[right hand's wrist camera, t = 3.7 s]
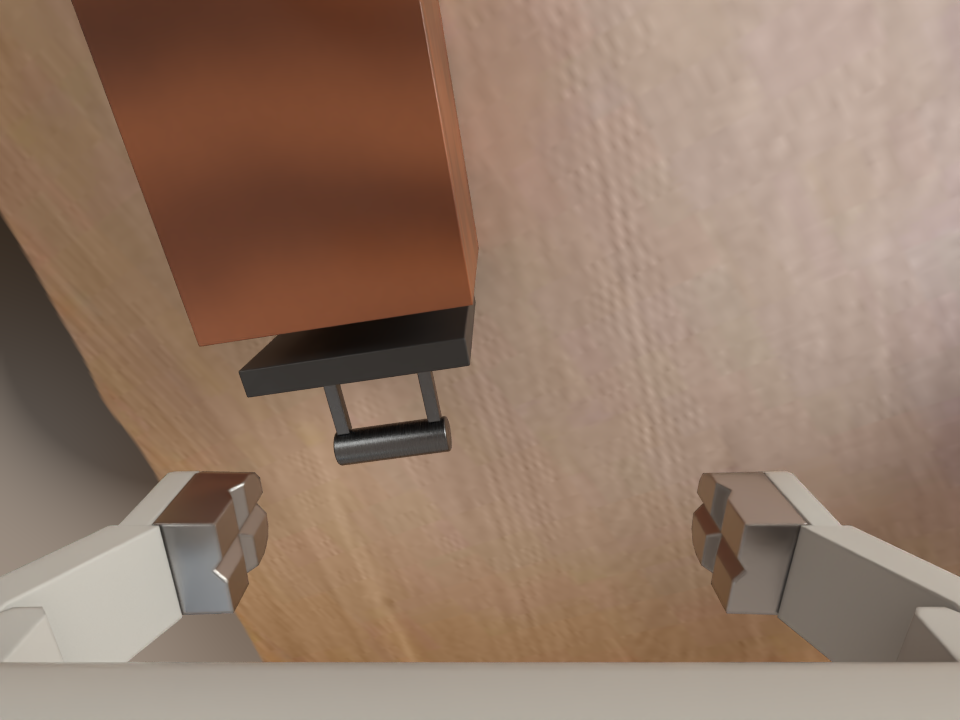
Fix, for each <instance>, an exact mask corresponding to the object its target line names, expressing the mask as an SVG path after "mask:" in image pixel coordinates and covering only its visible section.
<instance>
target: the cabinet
mask: <svg viewBox="0 0 960 720" xmlns="http://www.w3.org/2000/svg"><path fill="white" fill-rule="evenodd" d="M71 1H72V4H73V6H74V9H75V12H76V14H77V17H78V20H79V22H80V25H81V28H82V31H83V33H84V36H85V39H86V41H87V44H88V47H89V50H90V52H91V55H92V58H93V60H94V63H95V66H96V68H97V71H98V74H99V77H100V79H101V82H102V85H103V87H104V90H105V93H106V96H107V98H108V101H109V104H110V106H111V109H112V112H113V114H114V117H115V120H116V123H117V125H118V128H119V131H120V133H121V136H122V139H123V142H124V144H125V147H126V150H127V152H128V155H129V158H130V160H131V163H132V166H133V169H134V171H135V174H136V177H137V179H138V182H139V185H140V188H141V190H142V193H143V196H144V198H145V201H146V204H147V207H148V209H149V212H150V215H151V217H152V220H153V223H154V225H155V228H156V231H157V234H158V236H159V239H160V242H161V244H162V247H163V250H164V253H165V255H166V258H167V261H168V263H169V266H170V269H171V271H172V274H173V277H174V280H175V282H176V285H177V288H178V290H179V293H180V296H181V299H182V301H183V304H184V307H185V309H186V312H187V315H188V317H189V320H190V323H191V326H192V328H193V331H194V334H195V336H196V339H197V342H198V345H199V346H207V345H214V344H220V343H227V342H233V341H240V340H246V339H253V338H260V337H266V336H273V335H279V334H286V333H292V332H299V331H306V330H312V329H319V328H325V327H332V326H338V325H345V324H352V323H358V322H365V321H371V320H378V319H384V318H391V317H398V316H404V315H411V314H417V313H424V312H430V311H437V310H444V309H450V308H457V307H463V306H470V305H473V299H474V297H473V296H474V286H475V277H476V268H477V258H478V249H479V247H478V241H477V235H476V229H475V223H474V217H473V210H472V204H471V198H470V192H469V186H468V180H467V174H466V167H465V161H464V155H463V149H462V143H461V137H460V130H459V124H458V118H457V112H456V106H455V100H454V94H453V87H452V81H451V75H450V69H449V63H448V57H447V51H446V44H445V38H444V32H443V26H442V20H441V14H440V7H439V1H438V0H71Z"/></svg>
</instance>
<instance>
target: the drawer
mask: <svg viewBox="0 0 960 720" xmlns="http://www.w3.org/2000/svg"><path fill="white" fill-rule="evenodd" d="M473 297H474V296H473ZM474 313H475V297H474V299H473V305H470V306H463V307H457V308H450V309H444V310H437V311H430V312H424V313H417V314H411V315H404V316H398V317H391V318H384V319H378V320H371V321H365V322H358V323H352V324H345V325H338V326H332V327H325V328H319V329H312V330H306V331H299V332H292V333H286V334H279V335H277V336H276V337H275V338H274V339H273V340H272V341H271V342H270V343H269V344H268V345H267V346H266V347H264V348H263V349H262V350H261V351H260V352H259V353H258V354H257V355H256V356H255V357H254V358H253V359H252V360H250V361H249V362H248V363H247V364H246V365H245V366H244V367H243V368H242V369H241V370H240V371H239V375H240V378H241V380H242V383H243V386H244V389H245V392H246V395H247V397H255V396H262V395H269V394H276V393H283V392H290V391H297V390H304V389H311V388H318V387H324V390H325V394H326V397H327V401H328V404H329V407H330V411H331V414H332V418H333V421H334V425H335V428H336V434H335V436H334V453H335V457H336V460H337V462H338V463H339V464H340V465H350V464H357V463H365V462H372V461H380V460H387V459H395V458H403V457H410V456H418V455H425V454H433V453H440V452H448V451H450V450H451V446H452V441H451V431H450V425H449V421H448V419H447V417H446V416H442V417H441V411H440V406H439V401H438V396H437V392H436V387H435V382H434V377H433V372H432V371H436V370H443V369H450V368H456V367H463V366H469V365H470V358H471V346H472V335H473V324H474ZM415 373H417V374H418V378H419V383H420V387H421V392H422V397H423V401H424V406H425V410H426V415H427V419H421V420H413V421H406V422H399V423H392V424H384V425H377V426H370V427H363V428H355V429H352V426H351V422H350V419H349V415H348V412H347V408H346V404H345V401H344V397H343V394H342V390H341V387H340V384H345V383H352V382H359V381H366V380H373V379H380V378H387V377H394V376H401V375H408V374H415Z"/></svg>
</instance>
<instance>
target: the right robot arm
mask: <svg viewBox="0 0 960 720" xmlns="http://www.w3.org/2000/svg"><path fill="white" fill-rule="evenodd" d="M262 493H263V491H262V486H261V481H260V477H259V476H258V475H257V474H256V473H255V472H214V471H202V472H200V471H174V472H170V473H167V474H166V476H165V477H164V478H163V479H162V480H161V481H160V482H159V483H158V484H157V485H156V486H155V487H154V488H153V489H152V490H151V491H150V492H149V494H148V495H147V496H146V497H145V498H144V499H143V500H142V501H141V502H140V503H139V504H138V505H137V506H136V507H135V508H134V509H133V510H132V511H131V513H130V514H129V515H128V516H127V517H126V518H125V519H124V520H123V521H122V522H121V523H120V524H119V525H109V526H107V527H105V528H103V529H101V530H98V531H96V532H94V533H92V534H90V535H88V536H86V537H84V538H81V539H79V540H77V541H75V542H73V543H71V544H69V545H67V546H64V547H62V548H60V549H58V550H56V551H54V552H52V553H50V554H47V555H45V556H43V557H41V558H39V559H37V560H35V561H33V562H30V563H28V564H26V565H24V566H22V567H20V568H18V569H16V570H14V571H11V572H9V573H7V574H5V575H3V576H1V577H0V720H960V577H959V576H957V575H955V574H953V573H950V572H948V571H946V570H944V569H942V568H940V567H938V566H936V565H934V564H931V563H929V562H927V561H925V560H923V559H921V558H919V557H917V556H914V555H912V554H910V553H908V552H906V551H904V550H902V549H900V548H898V547H895V546H893V545H891V544H889V543H887V542H885V541H883V540H881V539H878V538H876V537H874V536H872V535H870V534H868V533H866V532H864V531H862V530H859V529H857V528H855V527H853V526H851V525H841V524H840V523H839V522H838V521H837V520H836V519H835V518H834V517H833V516H832V515H831V514H830V512H829V511H828V510H827V509H826V508H825V507H824V506H823V505H822V504H821V503H820V502H819V501H818V500H817V499H816V498H815V497H814V496H813V494H812V493H811V492H810V491H809V490H808V489H807V488H806V487H805V486H804V485H803V484H802V483H801V482H800V481H799V480H798V479H797V478H796V476H795V475H794V474H792V473H790V472H788V471H763V472H735V473H703V474H702V476H701V478H700V480H699V485H698V490H697V493H698V495H699V497H700V498H701V500H702V502H703V504H702V505H701V506H700V507H699V508H698V509H697V510H696V511H695V512H694V514H693V521H692V539H693V546H694V549H695V553H696V555H697V557H698V559H699V561H700V563H701V565H702V566H703V567H705V568H706V569H708V570H709V571H711V572H712V573H713V576H712V581H711V585H712V587H713V589H714V590H715V592H716V594H717V596H718V598H719V600H720V602H721V604H722V606H723V607H724V609H725V611H726V613H731V614H767V615H778V618H779V619H780V620H782V621H783V622H784V623H785V624H786V625H788V626H789V627H790V628H791V629H793V630H794V631H795V632H796V633H798V634H799V635H800V636H801V637H802V638H804V639H805V640H806V641H807V642H809V643H810V644H811V645H812V646H814V647H815V648H816V649H817V650H819V651H820V652H821V653H822V654H823V655H825V656H826V657H827V658H828V659H830V660H831V661H832V662H128V661H129V660H131V659H132V658H133V657H134V656H135V655H137V654H138V653H139V652H140V651H142V650H143V649H144V648H145V647H147V646H148V645H149V644H150V643H152V642H153V641H154V640H155V639H156V638H158V637H159V636H160V635H161V634H163V633H164V632H165V631H166V630H167V629H169V628H170V627H171V626H172V625H174V624H175V623H176V622H177V621H179V620H180V619H181V618H182V615H193V614H228V613H234V611H235V609H236V607H237V606H238V604H239V602H240V600H241V598H242V596H243V594H244V592H245V590H246V589H247V587H248V585H249V581H248V576H247V573H248V572H249V571H251V570H252V569H254V568H255V567H257V566H258V565H259V563H260V561H261V559H262V557H263V555H264V553H265V549H266V544H267V540H268V520H267V514H266V512H265V511H264V510H263V509H262V508H261V507H260V506H259V505H258V504H257V502H258V500H259V498H260V497H261V495H262Z"/></svg>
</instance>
